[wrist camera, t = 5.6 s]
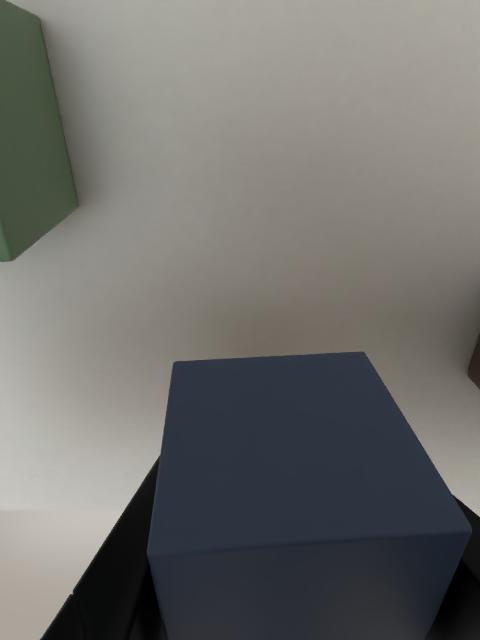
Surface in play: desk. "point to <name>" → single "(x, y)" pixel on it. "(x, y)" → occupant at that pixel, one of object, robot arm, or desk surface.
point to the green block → (29, 138)
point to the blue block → (297, 506)
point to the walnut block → (475, 366)
